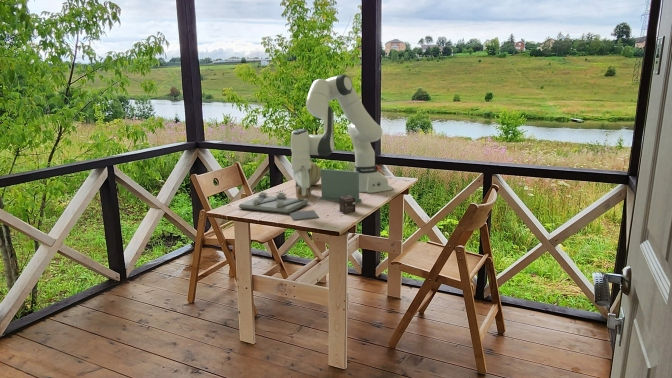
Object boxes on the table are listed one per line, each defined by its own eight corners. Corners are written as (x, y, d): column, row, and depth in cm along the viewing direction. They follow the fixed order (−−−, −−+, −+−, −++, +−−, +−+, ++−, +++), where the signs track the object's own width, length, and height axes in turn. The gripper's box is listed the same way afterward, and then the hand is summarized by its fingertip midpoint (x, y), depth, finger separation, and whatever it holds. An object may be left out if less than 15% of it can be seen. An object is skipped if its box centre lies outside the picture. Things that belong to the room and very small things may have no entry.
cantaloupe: (293, 187, 288) (291, 162, 285) (303, 182, 302) (302, 158, 298) (315, 188, 283) (314, 163, 280) (325, 183, 296) (324, 159, 293)
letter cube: (306, 195, 230) (306, 185, 229) (308, 198, 225) (308, 187, 224) (296, 196, 229) (295, 186, 228) (298, 199, 224) (297, 188, 223)
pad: (313, 211, 236) (313, 210, 236) (319, 217, 225) (318, 216, 225) (289, 213, 233) (289, 212, 233) (293, 220, 222) (293, 219, 222)
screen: (319, 199, 258) (318, 170, 255) (325, 196, 263) (324, 168, 260) (356, 203, 248) (355, 173, 244) (361, 201, 253) (360, 170, 249)
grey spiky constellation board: (237, 209, 244) (236, 195, 242) (261, 199, 263) (260, 186, 261) (289, 214, 231) (288, 200, 230) (310, 203, 250) (309, 190, 249)
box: (344, 214, 230) (343, 199, 228) (339, 211, 235) (338, 196, 233) (355, 212, 232) (355, 197, 230) (350, 209, 237) (350, 195, 236)
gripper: (312, 167, 214) (313, 198, 217) (303, 160, 234) (304, 188, 237) (298, 169, 213) (299, 199, 216) (290, 161, 232) (292, 189, 235)
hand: (302, 193), depth 227 cm, fingers closed on letter cube, 5 cm apart
